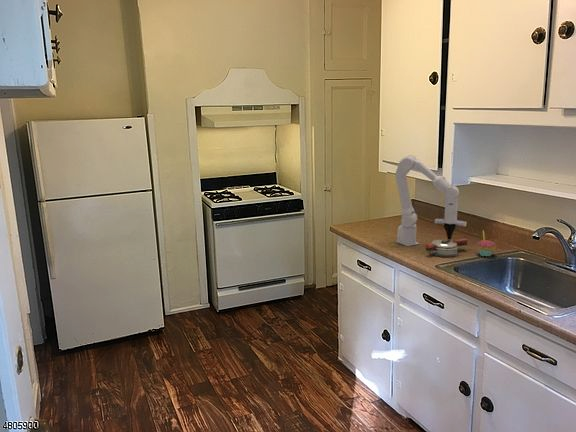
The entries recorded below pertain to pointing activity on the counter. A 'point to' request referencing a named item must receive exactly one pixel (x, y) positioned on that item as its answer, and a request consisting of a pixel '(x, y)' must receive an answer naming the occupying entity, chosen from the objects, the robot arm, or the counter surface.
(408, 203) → the robot arm
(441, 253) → the pot
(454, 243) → the lid
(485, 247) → the cupcake
